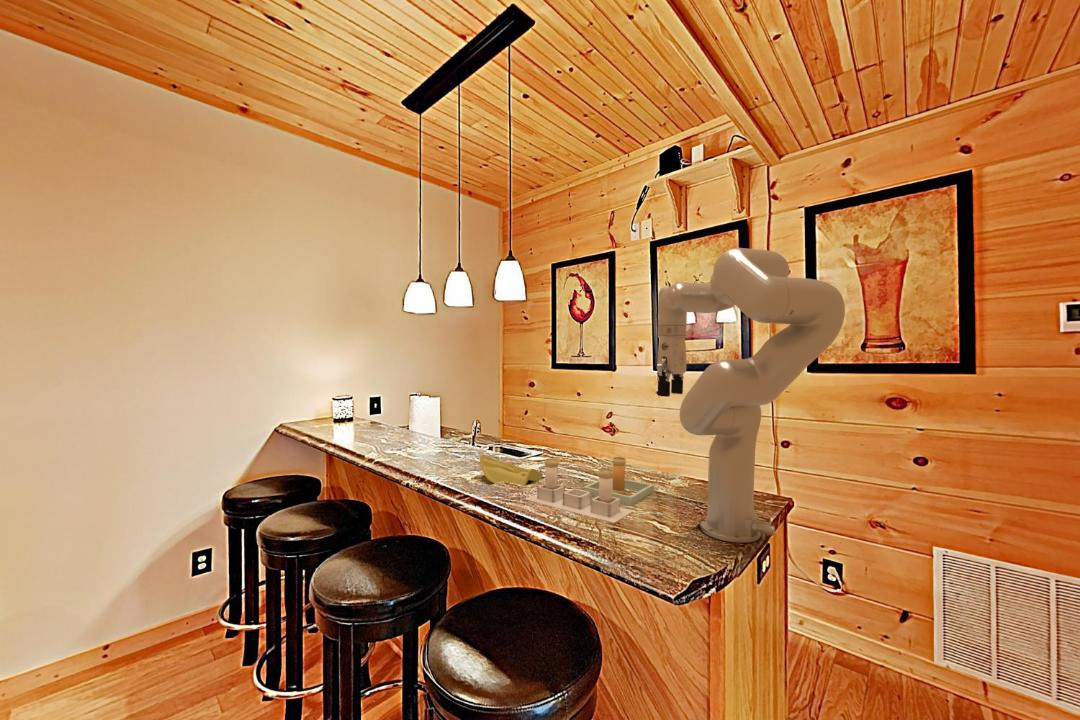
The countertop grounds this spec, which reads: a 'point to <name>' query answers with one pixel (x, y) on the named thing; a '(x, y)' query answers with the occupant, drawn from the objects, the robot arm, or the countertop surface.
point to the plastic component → (507, 472)
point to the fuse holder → (580, 503)
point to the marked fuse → (619, 475)
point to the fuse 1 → (551, 473)
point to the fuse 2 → (605, 485)
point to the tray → (641, 487)
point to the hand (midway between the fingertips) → (670, 394)
